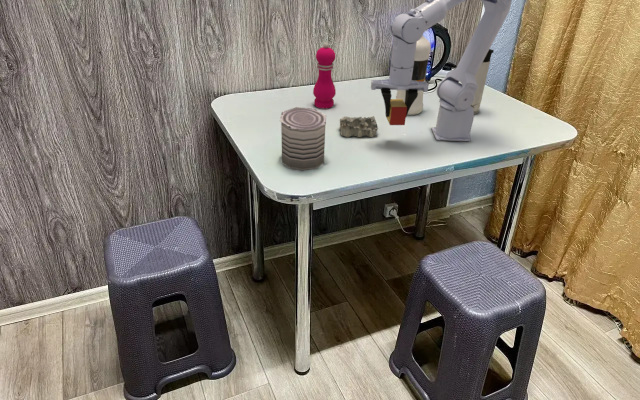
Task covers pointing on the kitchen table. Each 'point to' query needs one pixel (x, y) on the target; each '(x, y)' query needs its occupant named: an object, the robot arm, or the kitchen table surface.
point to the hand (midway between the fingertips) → (395, 115)
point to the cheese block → (397, 112)
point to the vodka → (418, 74)
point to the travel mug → (481, 81)
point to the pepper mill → (324, 78)
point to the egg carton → (358, 126)
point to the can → (303, 138)
